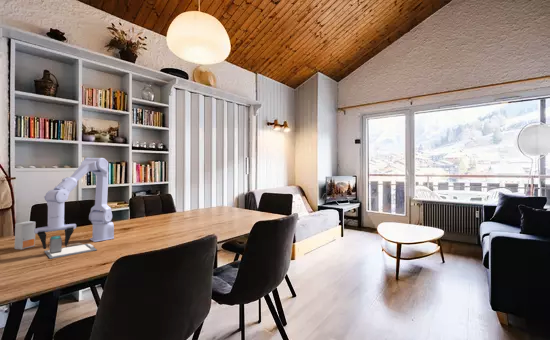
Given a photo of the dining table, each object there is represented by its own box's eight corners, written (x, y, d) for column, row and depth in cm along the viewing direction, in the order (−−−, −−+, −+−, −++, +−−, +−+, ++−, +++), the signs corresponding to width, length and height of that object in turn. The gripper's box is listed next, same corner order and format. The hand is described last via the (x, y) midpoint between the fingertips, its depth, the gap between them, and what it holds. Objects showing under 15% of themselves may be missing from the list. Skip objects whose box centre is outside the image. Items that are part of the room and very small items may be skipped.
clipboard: (88, 244, 135) (88, 242, 135) (96, 250, 125) (96, 248, 125) (44, 251, 122) (44, 249, 122) (50, 259, 113) (50, 256, 113)
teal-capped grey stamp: (59, 250, 123) (59, 235, 123) (61, 252, 120) (61, 236, 120) (49, 252, 120) (49, 236, 120) (51, 253, 118) (51, 238, 117)
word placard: (80, 242, 137) (80, 242, 137) (82, 244, 134) (82, 243, 134) (65, 245, 132) (65, 244, 132) (67, 246, 130) (67, 246, 130)
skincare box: (21, 249, 124) (21, 223, 124) (14, 249, 125) (14, 223, 125) (35, 246, 130) (36, 221, 130) (28, 245, 131) (29, 220, 131)
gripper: (73, 213, 128) (73, 241, 128) (32, 217, 117) (32, 248, 117) (77, 215, 123) (77, 244, 123) (35, 219, 112) (35, 251, 112)
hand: (55, 246), depth 120 cm, fingers open, 7 cm apart
